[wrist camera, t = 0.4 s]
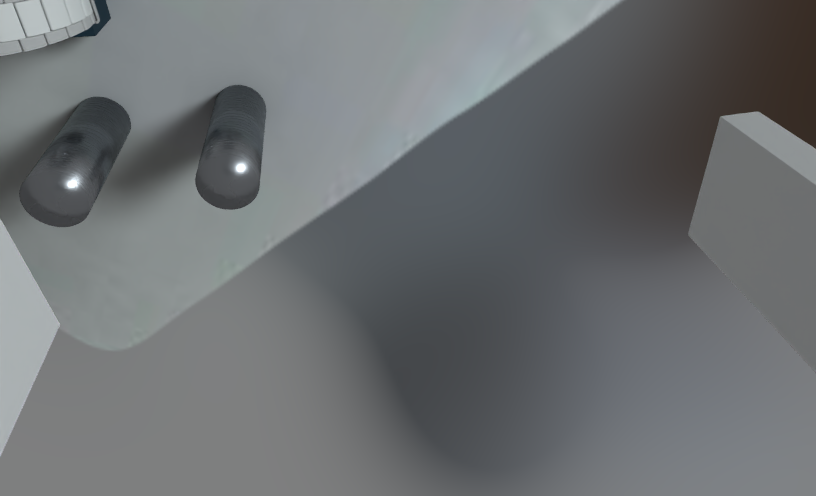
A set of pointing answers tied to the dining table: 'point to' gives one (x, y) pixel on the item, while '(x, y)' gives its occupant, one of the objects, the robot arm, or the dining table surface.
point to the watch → (48, 22)
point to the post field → (104, 137)
